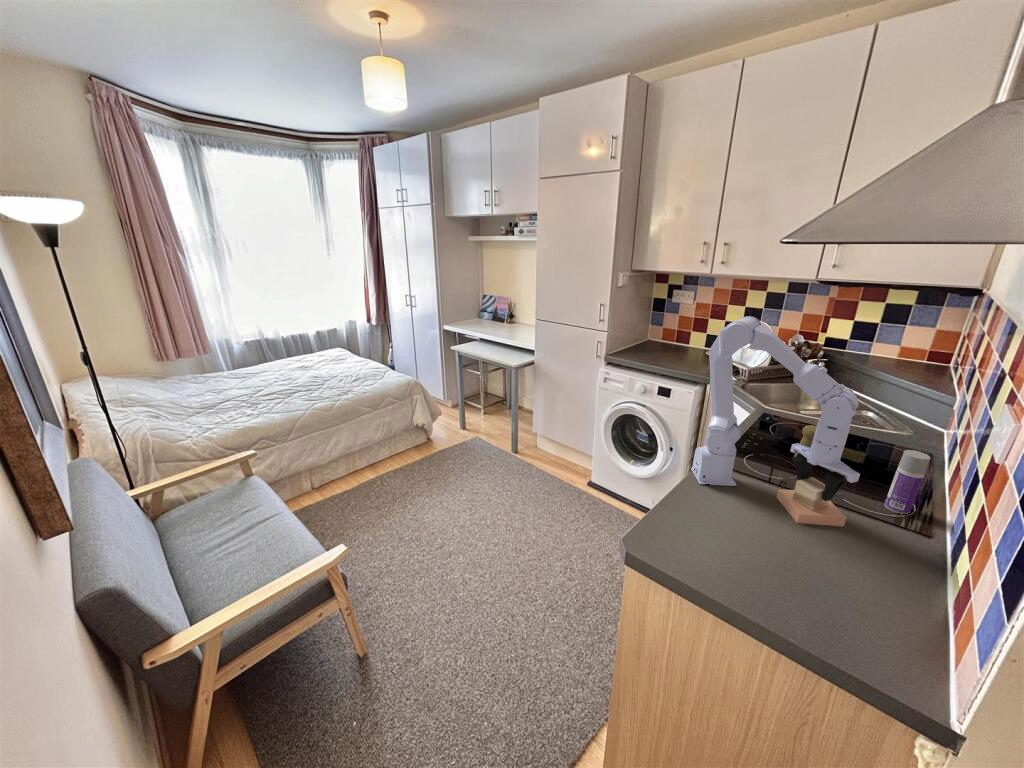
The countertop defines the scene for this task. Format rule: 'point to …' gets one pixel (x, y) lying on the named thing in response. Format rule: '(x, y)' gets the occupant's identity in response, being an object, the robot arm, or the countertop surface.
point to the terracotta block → (810, 511)
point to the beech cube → (810, 493)
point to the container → (907, 481)
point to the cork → (807, 436)
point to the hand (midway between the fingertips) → (813, 492)
